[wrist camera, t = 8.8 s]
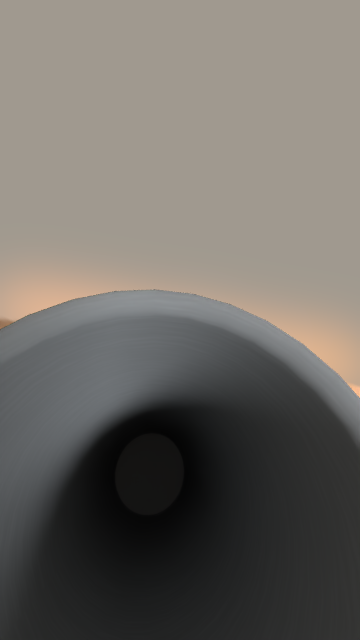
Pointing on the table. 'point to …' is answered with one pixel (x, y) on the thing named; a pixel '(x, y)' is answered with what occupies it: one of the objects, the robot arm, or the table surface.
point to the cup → (174, 476)
